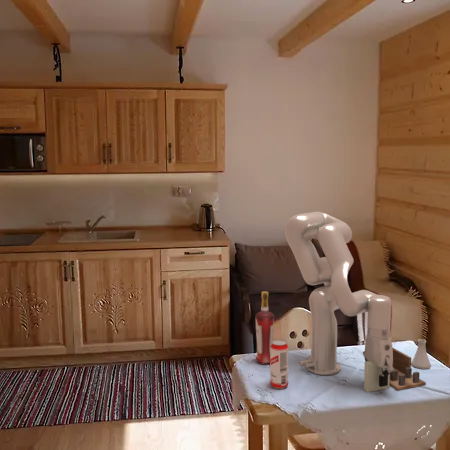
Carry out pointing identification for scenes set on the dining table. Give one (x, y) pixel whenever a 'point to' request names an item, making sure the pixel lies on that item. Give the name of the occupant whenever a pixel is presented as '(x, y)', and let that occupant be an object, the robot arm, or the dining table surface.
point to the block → (373, 377)
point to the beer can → (279, 364)
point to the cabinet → (403, 373)
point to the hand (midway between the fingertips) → (376, 381)
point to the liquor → (264, 331)
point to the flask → (421, 356)
